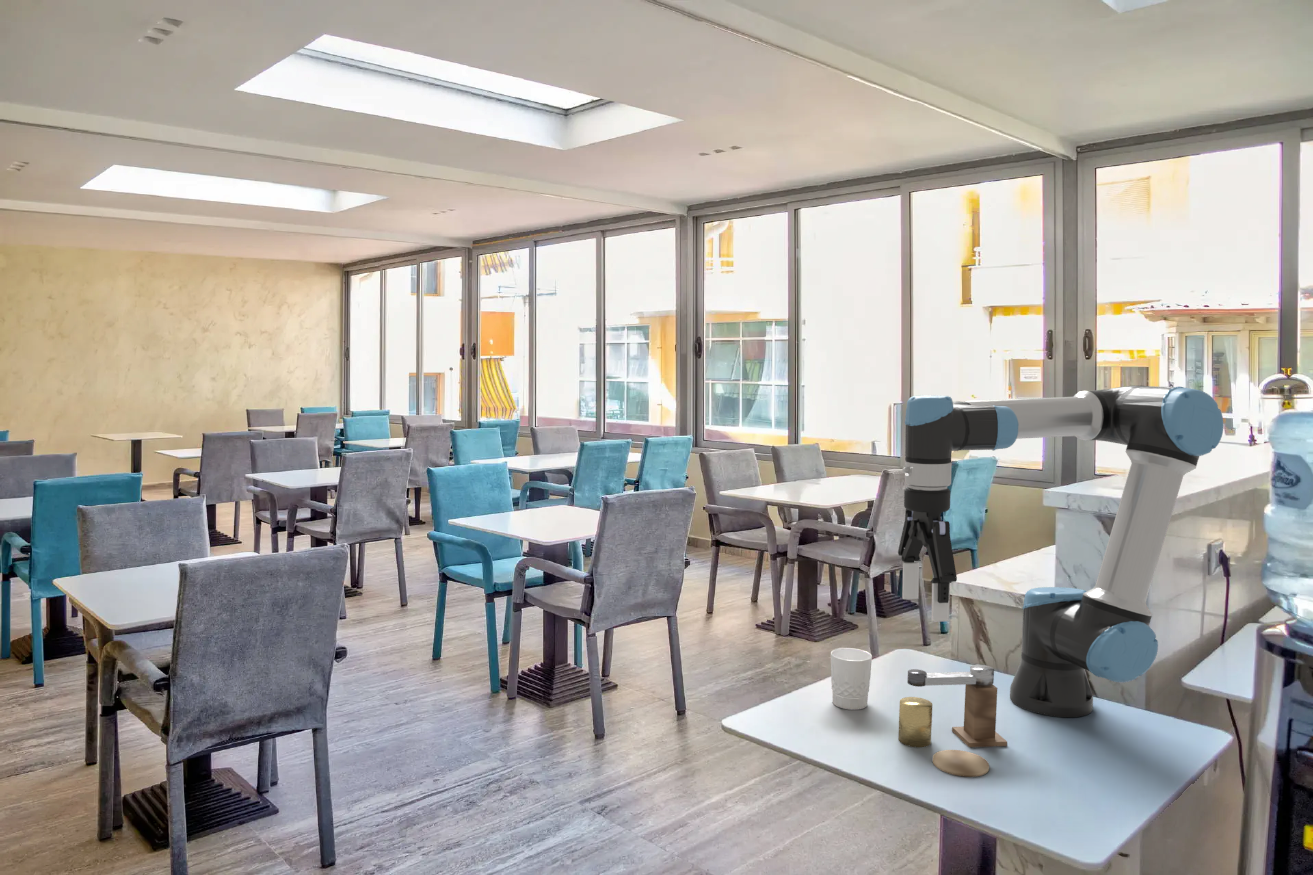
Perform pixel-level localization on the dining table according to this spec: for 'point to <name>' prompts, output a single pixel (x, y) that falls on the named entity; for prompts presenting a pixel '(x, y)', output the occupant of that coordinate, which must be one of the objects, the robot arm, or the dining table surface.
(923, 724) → the brass cylinder
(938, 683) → the lever
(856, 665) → the white cup
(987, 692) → the post
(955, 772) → the coaster
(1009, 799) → the dining table surface
